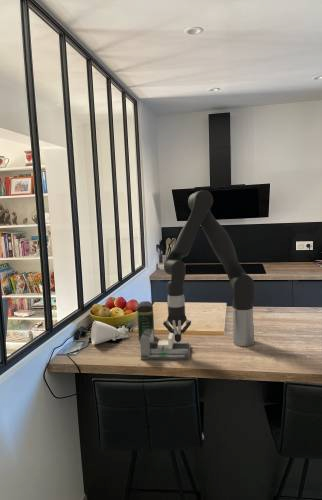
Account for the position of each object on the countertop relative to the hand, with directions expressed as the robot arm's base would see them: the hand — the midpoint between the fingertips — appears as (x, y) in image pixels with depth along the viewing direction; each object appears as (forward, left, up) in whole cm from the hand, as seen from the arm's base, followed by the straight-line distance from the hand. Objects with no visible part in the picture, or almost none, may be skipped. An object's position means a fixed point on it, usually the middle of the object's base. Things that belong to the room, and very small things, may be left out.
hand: (178, 341), depth 167 cm
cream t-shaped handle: (+6, +1, -4) cm, 7 cm away
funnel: (+35, -14, -6) cm, 38 cm away
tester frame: (+6, 0, -6) cm, 8 cm away
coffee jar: (+18, -17, -6) cm, 25 cm away
